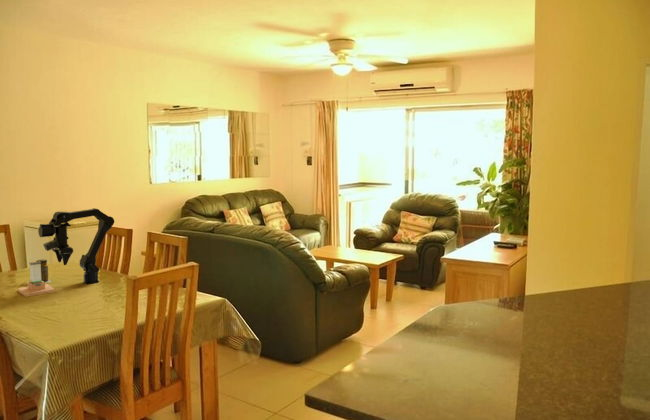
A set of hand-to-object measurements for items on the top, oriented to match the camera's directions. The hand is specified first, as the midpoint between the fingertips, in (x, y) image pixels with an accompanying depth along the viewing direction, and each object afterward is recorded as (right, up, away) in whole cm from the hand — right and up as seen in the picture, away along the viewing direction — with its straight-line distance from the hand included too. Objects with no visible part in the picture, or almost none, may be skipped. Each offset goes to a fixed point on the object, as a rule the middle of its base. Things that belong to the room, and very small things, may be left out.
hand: (62, 263), depth 271 cm
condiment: (-18, -12, +12) cm, 25 cm away
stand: (-10, -14, -7) cm, 18 cm away
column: (-10, -8, -8) cm, 15 cm away
